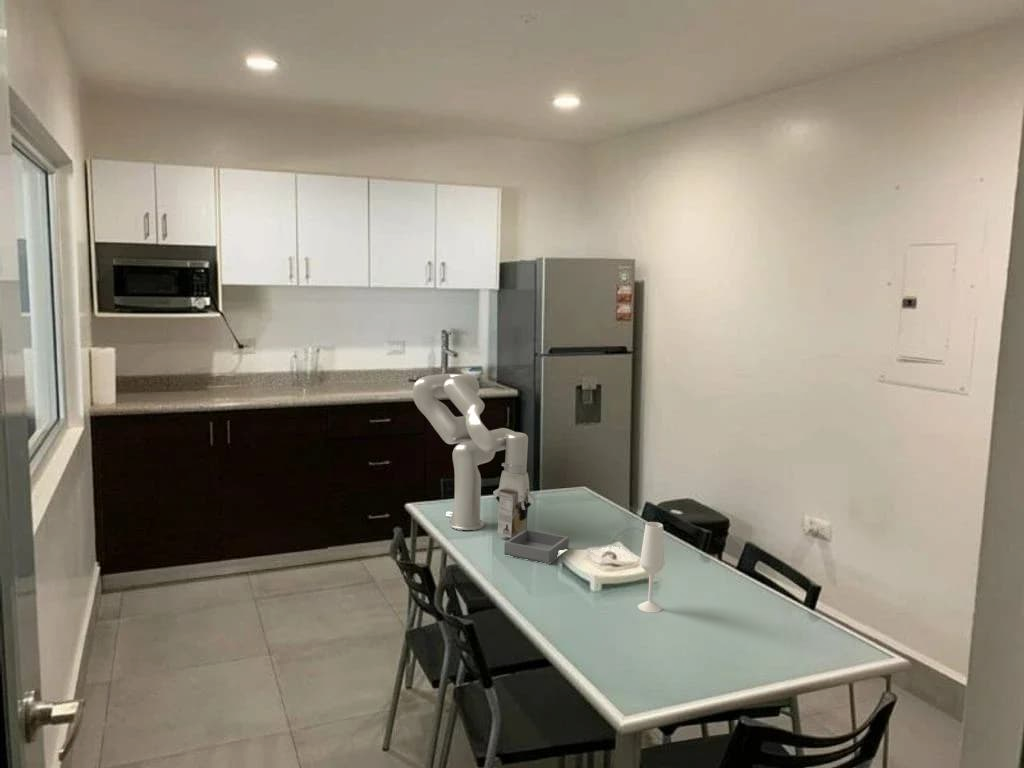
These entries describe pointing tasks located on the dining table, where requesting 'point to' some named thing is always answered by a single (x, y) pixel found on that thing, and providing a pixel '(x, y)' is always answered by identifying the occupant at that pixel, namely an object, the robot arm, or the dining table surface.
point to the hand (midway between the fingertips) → (512, 517)
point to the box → (536, 546)
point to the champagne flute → (652, 560)
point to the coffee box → (510, 514)
